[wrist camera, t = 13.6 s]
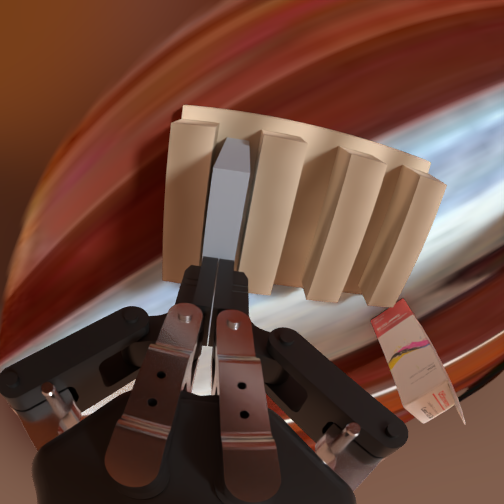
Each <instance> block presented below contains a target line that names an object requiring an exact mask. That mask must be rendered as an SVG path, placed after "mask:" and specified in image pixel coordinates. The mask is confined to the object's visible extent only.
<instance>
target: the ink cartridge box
mask: <svg viewBox="0 0 504 504" xmlns="http://www.w3.org/2000/svg"><path fill="white" fill-rule="evenodd" d="M371 324H372V326H373V329H374V331H375V333H376V336H377V338H378V341H379V343H380V345H381V348H382V350H383V352H384V355H385V357H386V360H387V363H388V365H389V367H390V370H391V373H392V375H393V378H394V381H395V383H396V386H397V389H398V392H399V395H400V398H401V401H402V404H403V407H404V408H405V409H406V410H408V411H409V412H410V413H411V414H412V415H413V416H415V417H416V418H417V419H418V420H419V421H421V422H422V423H426V422H427V421H429V420H431V419H433V418H435V417H436V416H438V415H439V414H441V413H443V412H444V411H446V410H447V409H449V408H451V407H452V406H454V405H455V406H456V409H457V411H458V413H459V415H460V417H461V419H462V421H463V422H464V424H466V423H465V419H464V416H463V412H462V409H461V406H460V403H459V400H458V398H457V395H456V393H455V390H454V388H453V386H452V383H451V381H450V379H449V377H448V374H447V372H446V370H445V368H444V366H443V364H442V362H441V360H440V358H439V356H438V355H437V353H436V351H435V349H434V347H433V345H432V343H431V342H430V340H429V338H428V336H427V335H426V333H425V331H424V329H423V328H422V326H421V325H420V323H419V321H418V320H417V318H416V317H415V315H414V314H413V312H412V311H411V309H410V307H409V306H408V304H407V303H406V301H405V300H404V298H402V299H401V300H400V301H398V302H397V303H395V305H394V307H393V308H392V307H390V308H388V309H387V310H385V311H384V312H382V313H381V314H380V315H378V316H376V317H375V318H373V319H372V320H371Z"/></svg>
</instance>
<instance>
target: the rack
mask: <svg viewBox="0 0 504 504" xmlns="http://www.w3.org/2000/svg"><path fill="white" fill-rule="evenodd" d="M227 137H228V138H235V139H241V140H247V141H249V148H250V177H249V183H248V188H247V194H246V199H245V205H244V210H243V216H242V221H241V227H240V232H239V238H238V244H237V249H236V255H235V261H234V271H239V272H244V273H245V275H246V276H247V278H248V293H254V294H262V295H271V291H272V287H273V284H277V285H285V286H293V287H302V288H303V289H304V293H305V297H306V300H315V301H324V302H334V303H338V300H339V298H340V296H341V293H342V292H346V293H355V294H363V297H364V299H365V301H366V303H367V305H368V306H379V307H392V308H393V307H394V305H395V303H396V301H397V299H398V297H399V295H400V293H401V291H402V290H403V288H404V286H405V284H406V282H407V280H408V278H409V276H410V273H411V271H412V269H413V267H414V265H415V263H416V261H417V259H418V256H419V254H420V252H421V250H422V247H423V245H424V243H425V241H426V238H427V236H428V233H429V231H430V229H431V226H432V224H433V221H434V219H435V216H436V214H437V211H438V208H439V206H440V203H441V200H442V197H443V195H444V192H445V189H446V186H447V185H446V184H444V183H443V182H441V181H440V180H438V179H436V178H435V177H433V176H431V175H430V174H428V171H429V168H430V165H431V162H429V161H427V160H425V159H422V158H419V157H417V156H414V155H411V154H409V153H406V152H403V151H400V150H397V149H394V148H391V147H388V146H385V145H382V144H379V143H376V142H373V141H370V140H366V139H363V138H360V137H356V136H353V135H349V134H345V133H342V132H338V131H334V130H330V129H326V128H322V127H318V126H314V125H310V124H306V123H301V122H296V121H292V120H287V119H282V118H277V117H271V116H266V115H260V114H254V113H248V112H242V111H235V110H228V109H220V108H212V107H203V106H193V105H183V111H182V118H181V119H180V120H177V121H175V122H172V123H171V130H170V139H169V149H168V160H167V172H166V185H165V202H164V223H163V266H162V280H163V281H169V282H175V283H181V282H182V279H183V275H184V272H185V270H186V269H187V268H188V267H189V266H190V265H196V266H201V264H202V254H203V245H204V236H205V227H206V219H207V211H208V203H209V195H210V187H211V180H212V173H213V167H214V165H215V163H216V160H217V158H218V156H219V154H220V152H221V149H222V147H223V145H224V143H225V141H226V139H227Z"/></svg>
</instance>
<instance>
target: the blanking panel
mask: <svg viewBox="0 0 504 504" xmlns="http://www.w3.org/2000/svg"><path fill="white" fill-rule="evenodd" d="M249 177H250V148H249V141H247V140H241V139H235V138H228V137H227V139H226V141H225V143H224V145H223V147H222V149H221V152H220V154H219V156H218V158H217V160H216V163H215V165H214V167H213V173H212V180H211V187H210V195H209V203H208V211H207V219H206V227H205V236H204V245H203V254H202V260H203V256H206V257H213V258H218V264H217V272H216V279H215V287H216V280H217V273H218V266H219V259H220V258H221V259H228V260H234V261H235V255H236V249H237V244H238V238H239V232H240V227H241V221H242V216H243V210H244V205H245V199H246V194H247V188H248V183H249ZM215 287H214V295H215ZM214 295H213V302H214ZM213 302H212V309H211V317H210V324H209V332H208V335H210V327H211V318H212V310H213Z"/></svg>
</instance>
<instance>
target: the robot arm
mask: <svg viewBox="0 0 504 504" xmlns="http://www.w3.org/2000/svg"><path fill="white" fill-rule="evenodd" d="M217 264H218V258H213V257H206V256H203V260H202V264H201V266H196V265H190V266H189V267H188V268H187V269H186V270H185V272H184V275H183V279H182V282H181V286H180V289H179V292H178V296H177V299H176V303H175V305H174V306H172V307H171V308H170V309H169V311H168V313H166V314H163V315H158V316H148V314H147V312H146V311H145V310H143V309H142V308H139V307H135V306H129V307H125V308H122V309H120V310H118V311H116V312H114V313H112V314H110V315H108V316H106V317H104V318H102V319H100V320H98V321H96V322H94V323H92V324H91V325H89V326H87V327H85V328H83V329H81V330H79V331H77V332H75V333H73V334H71V335H69V336H67V337H65V338H63V339H61V340H59V341H57V342H55V343H53V344H51V345H49V346H48V347H46V348H44V349H42V350H40V351H38V352H36V353H34V354H32V355H30V356H28V357H26V358H24V359H22V360H20V361H18V362H17V363H15V364H13V365H11V366H9V367H7V368H5V369H4V370H3V371H2V372H1V373H0V393H1V394H2V395H3V397H4V398H5V399H6V400H7V402H8V404H9V406H10V407H11V408H12V409H13V410H14V412H15V413H16V414H17V415H18V416H19V418H20V420H21V422H22V424H23V426H24V428H25V430H26V432H27V434H28V435H29V437H30V439H31V441H32V443H33V444H34V446H35V448H36V450H37V451H38V452H37V453H36V455H35V457H34V459H33V463H32V477H33V482H34V486H35V490H36V494H37V504H356V498H355V495H354V493H353V491H354V490H355V489H356V488H357V487H358V486H359V485H360V484H361V483H362V482H363V481H364V479H365V478H366V477H367V476H368V475H369V474H370V473H371V472H372V471H373V469H374V468H375V467H376V466H377V465H378V463H380V462H381V461H383V460H384V459H385V458H387V457H388V456H389V455H391V454H392V453H394V452H395V451H396V450H398V449H399V448H400V447H402V446H403V445H404V444H405V443H406V441H407V438H408V429H407V427H406V425H405V424H404V422H403V421H402V420H401V419H399V418H398V417H397V416H396V415H394V414H393V413H392V412H391V411H389V410H388V409H387V408H386V407H385V406H383V405H382V404H381V403H380V402H378V401H377V400H376V399H375V398H374V397H372V396H371V395H370V394H369V393H368V392H366V391H365V390H364V389H363V388H362V387H360V386H359V385H358V384H357V383H356V382H355V381H353V380H352V379H351V378H350V377H349V376H347V375H346V374H345V373H344V372H343V371H342V370H340V369H339V368H338V367H337V366H336V365H334V364H333V363H332V362H331V361H330V360H329V359H327V358H326V357H325V356H324V355H323V354H322V353H321V352H319V351H318V350H317V349H316V348H315V347H314V346H312V345H311V344H310V343H309V342H308V341H307V340H306V339H304V338H303V337H302V336H301V335H300V334H299V333H297V332H296V331H294V330H292V329H289V328H283V327H282V328H277V329H274V330H273V331H272V332H271V333H270V332H267V331H265V330H262V329H260V328H258V327H256V326H255V325H254V324H253V323H252V322H251V320H250V318H249V301H248V278H247V276H246V275H245V273H244V272H239V271H234V260H228V259H221V258H220V259H219V266H218V273H217V280H216V287H215V279H216V272H217ZM214 287H215V295H214ZM213 295H214V302H213ZM212 302H213V310H212V318H211V327H210V335H209V344H208V346H212V347H213V349H212V358H211V395H208V396H199V395H196V394H193V393H191V392H192V387H193V383H194V379H195V375H196V370H197V366H198V362H199V356H200V354H201V350H202V345H203V346H207V340H208V332H209V324H210V317H211V309H212ZM134 379H136V381H135V383H134V386H133V388H132V390H131V391H128V392H125V393H123V394H121V395H119V396H117V397H116V398H114V399H113V400H111V401H110V402H108V403H107V404H105V405H104V406H102V407H101V408H99V409H98V410H97V411H95V412H94V413H92V414H91V415H89V416H88V417H86V418H85V419H83V420H82V421H80V420H81V412H83V411H85V410H86V409H88V408H90V407H91V406H93V405H95V404H96V403H98V402H99V401H101V400H103V399H104V398H106V397H108V396H109V395H111V394H112V393H114V392H116V391H117V390H119V389H120V388H122V387H123V386H125V385H127V384H128V383H130V382H131V381H133V380H134ZM265 393H266V394H267V395H268V396H269V397H270V398H271V399H272V400H273V401H274V402H275V403H276V404H277V405H278V406H279V407H280V408H281V409H282V410H283V411H284V412H285V413H286V414H287V415H288V416H289V417H290V418H291V419H292V420H293V421H294V422H295V423H296V424H297V425H298V426H299V427H300V428H301V429H302V430H303V431H304V432H305V433H306V434H307V435H308V436H309V437H310V438H312V439H313V440H314V441H315V442H316V446H315V451H316V453H315V452H314V451H313V450H312V449H311V448H310V447H309V446H308V445H307V444H306V443H305V442H304V441H303V440H302V439H301V438H300V437H299V436H298V435H297V434H296V433H295V432H294V430H293V429H292V428H291V427H290V426H289V425H288V424H287V423H286V422H285V421H284V420H283V419H282V418H281V417H280V416H279V415H278V414H276V413H275V412H274V411H272V410H271V409H269V408H267V401H266V394H265Z"/></svg>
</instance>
